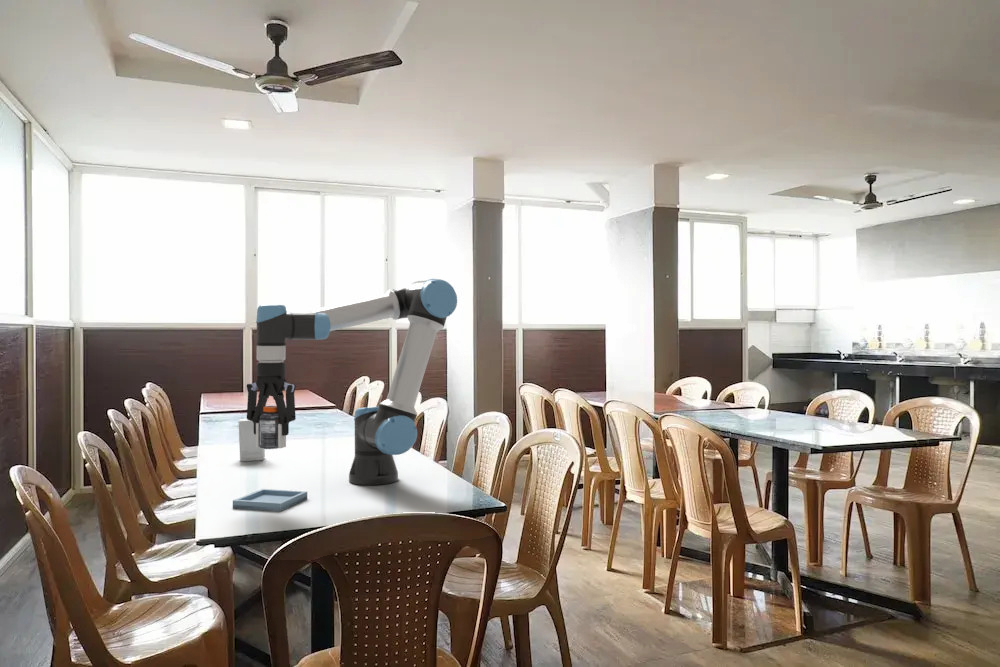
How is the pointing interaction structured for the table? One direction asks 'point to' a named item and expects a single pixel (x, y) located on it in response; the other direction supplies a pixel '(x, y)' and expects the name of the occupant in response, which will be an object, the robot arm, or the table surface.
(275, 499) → the tray
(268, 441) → the pill bottle
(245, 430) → the skincare box
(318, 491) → the table surface
